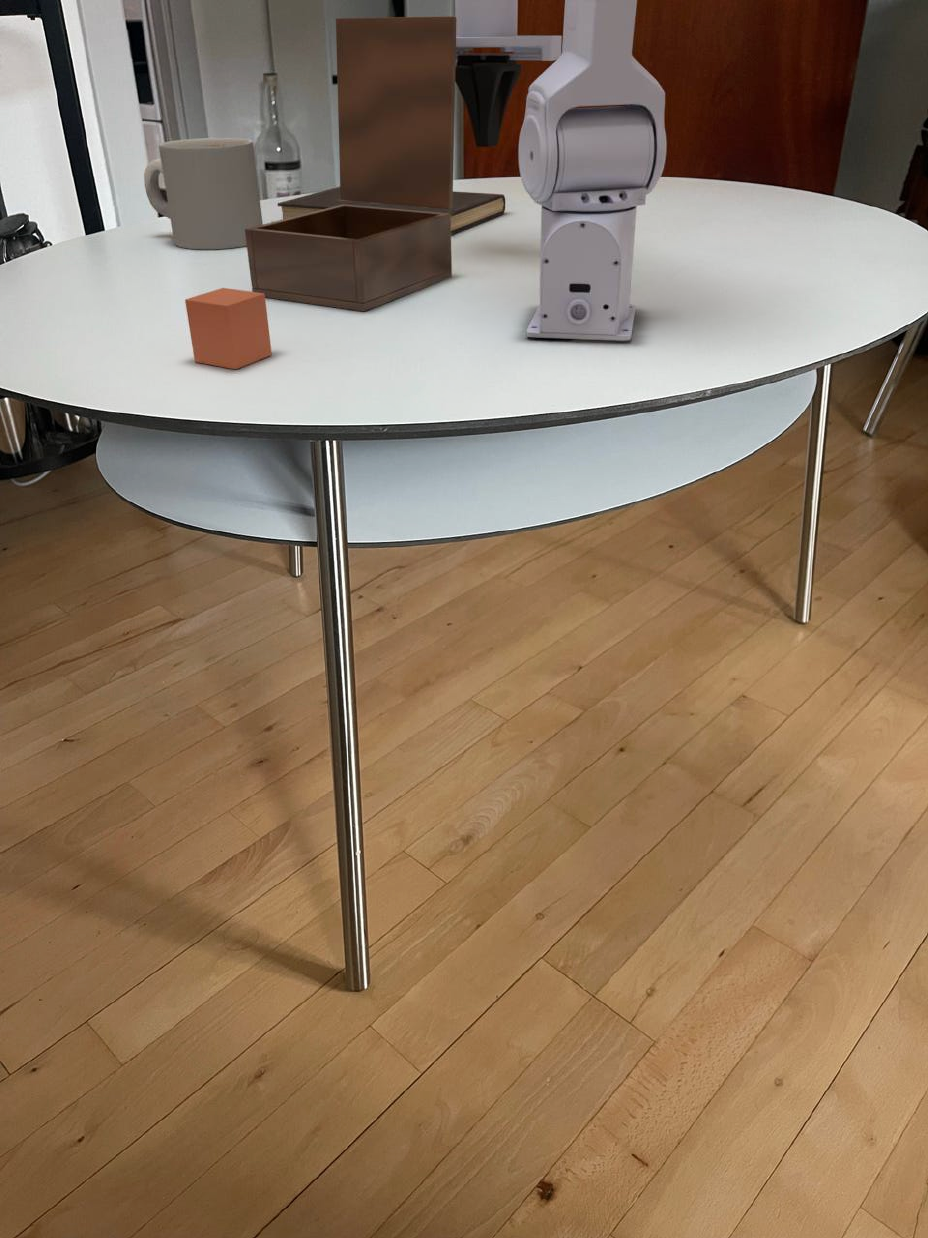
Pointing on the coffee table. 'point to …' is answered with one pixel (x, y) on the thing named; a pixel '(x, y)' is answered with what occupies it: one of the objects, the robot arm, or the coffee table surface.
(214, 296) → the block
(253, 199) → the coffee mug
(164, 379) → the coffee table surface
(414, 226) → the box
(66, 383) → the coffee table surface
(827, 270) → the coffee table surface
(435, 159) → the lid
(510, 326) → the coffee table surface
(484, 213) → the hardcover book
